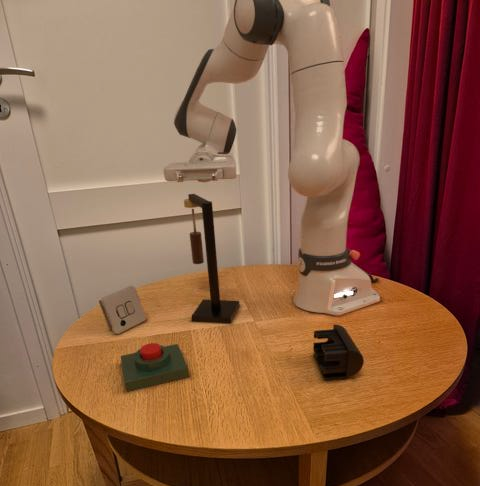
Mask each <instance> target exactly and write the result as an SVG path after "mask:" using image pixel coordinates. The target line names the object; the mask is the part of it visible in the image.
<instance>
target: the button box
mask: <svg viewBox="0 0 480 486" xmlns="http://www.w3.org/2000/svg"><path fill="white" fill-rule="evenodd" d="M159 345H160V344H159ZM160 346H161V351H162V356H161V357H159V358H158V359H155V360H143V359H142V357H141V352H140V349H141V348H139V349H137V350H136V352H132V353H128V354H123V355H120V362H121V369H122V376H123V382H124V387H125V392H130V391H135V390H140V389H144V388H148V387H152V386H157V385H161V384H166V383H169V382H173V381H178V380H182V379H187V378H189V376H190V375H189V370H188V366H187V363H186V360H185V359H184V356H183V353H182V351H181V348H180V346H179V344H178V343H175V344H170V345H163V344H162V345H160Z"/></svg>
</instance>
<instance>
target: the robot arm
mask: <svg viewBox="0 0 480 486" xmlns="http://www.w3.org/2000/svg"><path fill="white" fill-rule="evenodd" d="M337 19H338V18H337V15H336V12H335V11H334V9H333V8H332V7H331V1H330V0H234V6H233V8H232V9H231V13H230V15H229V17H228V20H227V23H226V26H225V29H224V33H223V36H222V39H221V41H220V43H219V44H218V45H217V46H216V47H215V48H211V49H208V50H207V51H206V52H205V53H204V55H203V56H202V59H201V60H200V62H199V64H198V66H197V68H196V70H195V72H194V75H193V77H192V80H191V81H190V83H189V86H188V88H187V91H186V93H185V95H184V98H183V99H182V101H181V102H180V104H179V105H178V106H177V108H176V110H175V113H174V118H173V124H174V128H175V129H176V131H177V133H178V134H179V135H180V136H182V137H185V138H188V139H192V140H194V141H197V142H199V143H200V145H198V147H197V148H196V149H195V150H194V151H193V153H192V154H191V156H190V157H189V159H188V161H176V162H171V163H168V164H167V165H166V166H164V167H163V176H164V180H165V181H166V182H177V183H183V182H184V181H197V182H199V183H209V182H218V181H219V180H234V179H236V178H237V163H236V160H235V158H234V156H233V153H231V150H232V148H233V146H234V143H235V139H236V135H237V125H236V123H235V120H234V118H231V117H229V116H228V115H226V114H224V113H221V112H220V111H217V110H215V109H212V108H210V107H208V106H205V105H204V104H202V103H201V102H200V99H201V98H202V95H203V93H204V92H205V90H206V87H207V86H208V85H210V84H213V83H225V84H231V85H232V84H235V85H237V84H243V83H246V82H248V81H250V80H252V79H254V78H255V77H256V76H257V75H258V72H259V71H260V69H261V67H262V65H263V63H264V60H265V58H266V55H267V53H268V49H269V46H273V45H280V46H284V48H285V50H286V51H287V56H288V64H289V75H290V83H291V84H290V85H291V93H292V103H293V113H294V129H293V141H292V143H293V144H292V145H293V146H292V156H291V159H290V162H289V165H288V169H287V178H288V182H289V184H290V186H291V187H292V189H293V190H294V191H295V192H296V194H299V195H300V196H303V197H306V201H305V204H304V209H303V211H302V214H301V217H300V236H299V237H300V243H299V246H300V247H299V248H298V255H297V257H298V258H297V269H298V278H297V283H296V289H295V293H294V296H293V298H292V302H293V304H294V305H295V306H296V307H298V308H299V309H302V310H304V311H308V312H312V313H319V314H327V315H331V316H336V317H337V316H342V315H345V314H348V313H352V312H353V311H357V310H359V309H362V308H365V307H368V306H371V305H373V304H377V303H379V302H380V301H381V296H380V294H379V293H378V291H376V290H375V289H374V288H373V287H372V283H376V282H378V281H379V277H376V278H374V277H373V275H372V274H371V273H369V272H368V271H364V270H363V269H361V268H360V267H359V266H357V265H356V264H355V263H354V262H352V259H353V260H354V261H357V260H359V258H360V256H361V253H360V252H359V251H357V250H355V249H352V250H351V249H350V248H348V247H347V237H348V236H347V235H348V234H347V233H348V223H349V213H350V210H351V204H352V200H353V196H354V189H355V185H356V180H357V173H358V170H359V166H360V160H361V159H360V158H361V157H360V153H359V150H358V148H357V146H355V145H354V143H352V142H350V141H349V140H347V139H345V138H343V135H344V123H345V115H346V111H347V106H348V100H347V87H346V85H347V83H346V74H345V73H346V72H345V59H344V51H343V43H342V37H341V31H340V27H339V23H338V20H337Z"/></svg>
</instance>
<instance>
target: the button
mask: <svg viewBox="0 0 480 486" xmlns="http://www.w3.org/2000/svg"><path fill="white" fill-rule="evenodd" d="M139 349H140V352H141V357H142V359H143V360H155V359H158V358H159V357H161V356H162V351H161V346H160V344H159V343H156V342H149V343H146V344H144V345H142V346H141V347H140V348H139Z"/></svg>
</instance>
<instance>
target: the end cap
mask: <svg viewBox="0 0 480 486" xmlns="http://www.w3.org/2000/svg"><path fill="white" fill-rule="evenodd" d="M313 339H317V340H324V339H327V340H326V341H318V342H313V346H312V347H313V358H314V360H315V363H316V365H317V367H318V369H319V372H320V374H321V377H322V379H323V381H326V382H327V381H338V380H339V381H340V380H347V379H349V378H351V377H353V376H356V375H357V374H358V373H359V372H360V371H361V370H362V368H363V366H364V356H363V354H362V353H361V351H360V350H359V348H358V346H357V345H356V343H355V342H354V340H353V339H352V337H351V335H350V334H349V332H348V331H347V329H346V328H345V327H344V326H342V325H340V324H333V325H332V329H321V330H313Z"/></svg>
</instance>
